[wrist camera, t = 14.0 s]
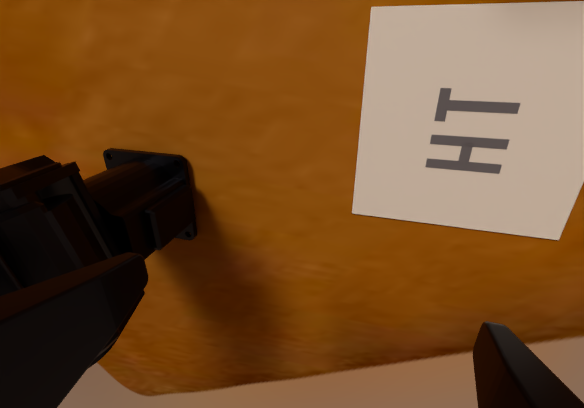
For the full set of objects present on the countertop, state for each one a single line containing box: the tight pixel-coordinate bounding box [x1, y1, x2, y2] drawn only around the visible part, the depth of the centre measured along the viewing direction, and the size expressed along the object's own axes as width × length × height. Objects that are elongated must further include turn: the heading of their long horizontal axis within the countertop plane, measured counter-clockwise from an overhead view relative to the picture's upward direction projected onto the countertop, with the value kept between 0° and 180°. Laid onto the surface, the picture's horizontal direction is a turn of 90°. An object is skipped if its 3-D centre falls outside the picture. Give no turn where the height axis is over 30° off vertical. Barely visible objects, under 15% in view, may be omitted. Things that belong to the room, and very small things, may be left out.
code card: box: [352, 1, 584, 240], centre depth 16 cm, size 11×11×1 cm
